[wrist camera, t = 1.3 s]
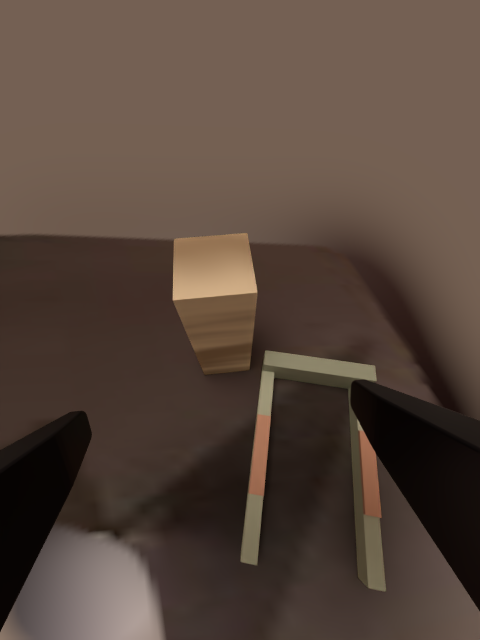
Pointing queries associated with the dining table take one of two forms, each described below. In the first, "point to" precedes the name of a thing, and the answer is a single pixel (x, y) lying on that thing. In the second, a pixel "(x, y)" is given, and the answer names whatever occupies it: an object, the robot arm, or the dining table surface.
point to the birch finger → (216, 299)
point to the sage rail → (361, 452)
